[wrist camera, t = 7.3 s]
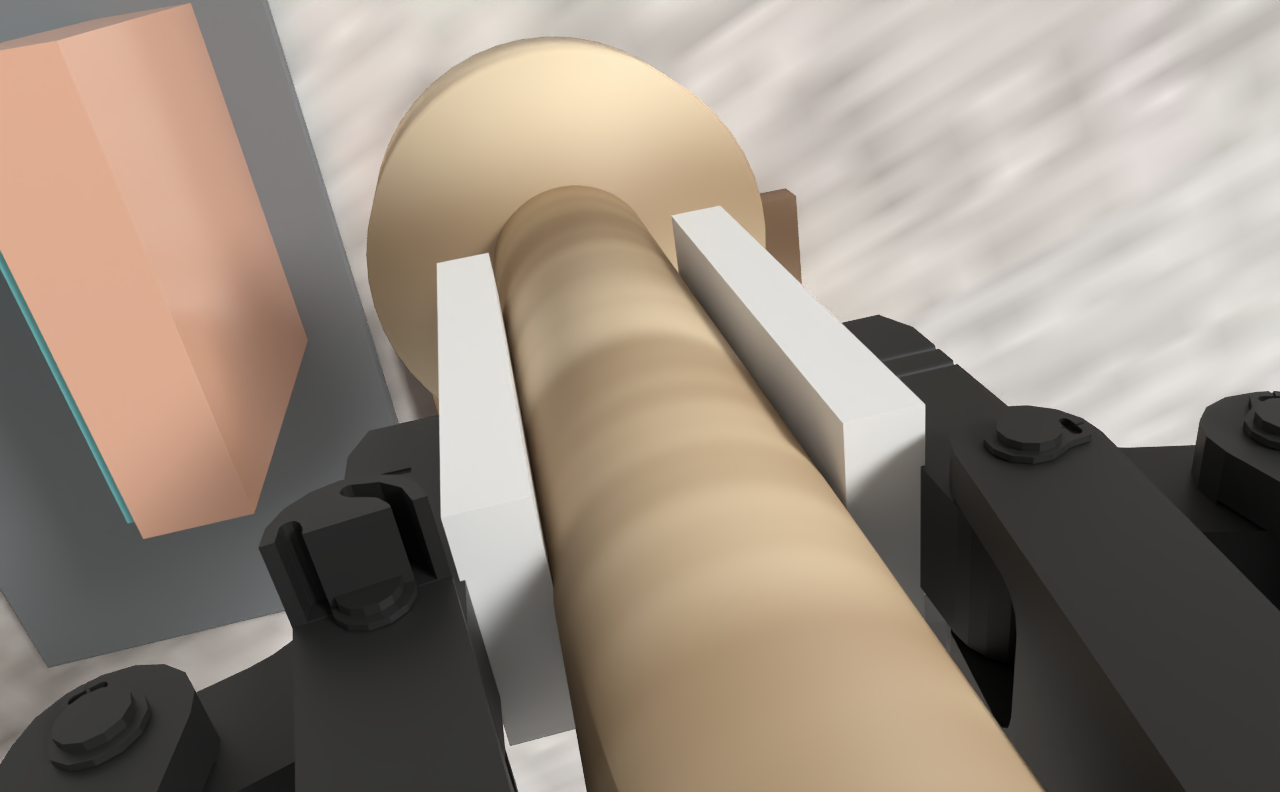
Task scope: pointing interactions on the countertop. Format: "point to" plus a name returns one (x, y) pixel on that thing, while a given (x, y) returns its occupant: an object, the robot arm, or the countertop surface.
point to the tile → (146, 263)
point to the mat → (310, 432)
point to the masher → (663, 447)
